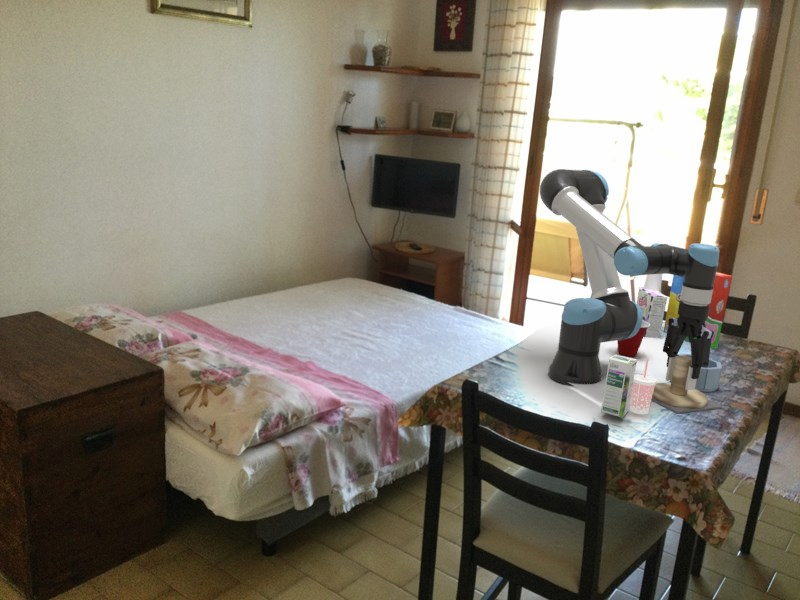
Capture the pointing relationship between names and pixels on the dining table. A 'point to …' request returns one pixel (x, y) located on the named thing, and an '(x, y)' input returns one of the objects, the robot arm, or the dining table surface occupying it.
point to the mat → (678, 410)
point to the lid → (679, 388)
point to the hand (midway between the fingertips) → (679, 384)
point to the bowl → (707, 376)
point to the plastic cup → (632, 342)
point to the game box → (716, 304)
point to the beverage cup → (642, 392)
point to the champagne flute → (653, 282)
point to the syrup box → (618, 385)
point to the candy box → (652, 310)
